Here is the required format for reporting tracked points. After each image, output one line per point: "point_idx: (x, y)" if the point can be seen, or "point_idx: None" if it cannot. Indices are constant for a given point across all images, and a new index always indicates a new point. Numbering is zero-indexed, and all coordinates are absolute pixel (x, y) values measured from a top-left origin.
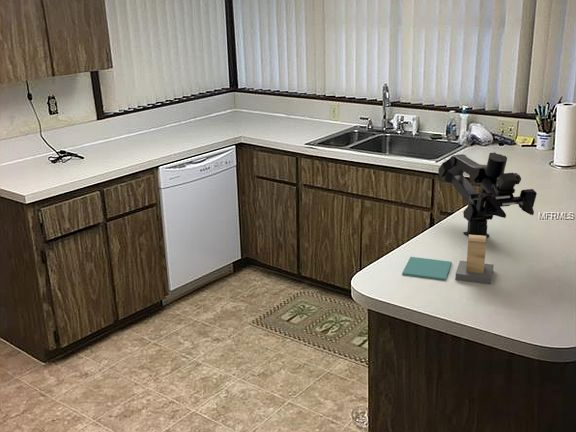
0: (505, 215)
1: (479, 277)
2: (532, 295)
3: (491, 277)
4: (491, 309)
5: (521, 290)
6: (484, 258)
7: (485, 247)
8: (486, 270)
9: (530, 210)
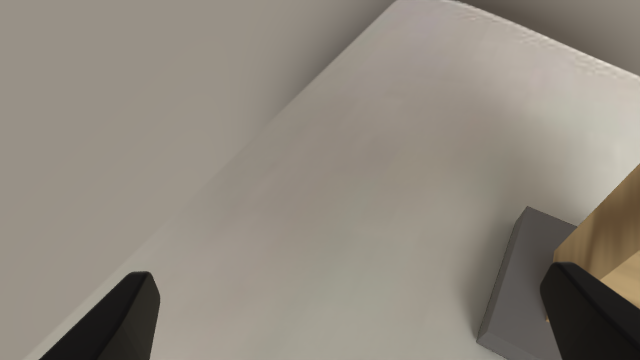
0: (561, 263)
1: (572, 228)
2: (388, 139)
3: (502, 265)
4: (535, 101)
5: (410, 169)
6: (596, 210)
7: (636, 168)
8: (536, 274)
9: (130, 331)
